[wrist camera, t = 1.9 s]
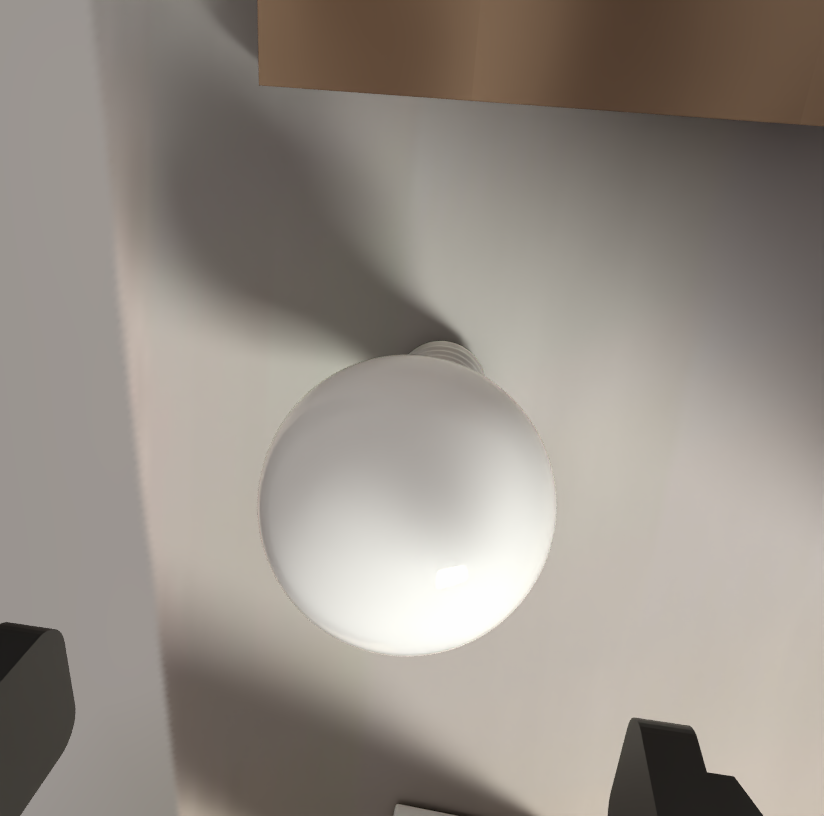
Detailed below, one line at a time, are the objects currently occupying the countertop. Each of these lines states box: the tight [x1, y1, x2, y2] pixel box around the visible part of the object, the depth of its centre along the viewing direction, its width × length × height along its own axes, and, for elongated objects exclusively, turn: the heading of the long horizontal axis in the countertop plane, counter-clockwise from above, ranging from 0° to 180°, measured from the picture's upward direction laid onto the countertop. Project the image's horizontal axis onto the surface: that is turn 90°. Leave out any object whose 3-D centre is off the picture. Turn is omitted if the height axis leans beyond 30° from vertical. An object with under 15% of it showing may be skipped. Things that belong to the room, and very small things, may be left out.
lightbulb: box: [257, 341, 557, 657], centre depth 18 cm, size 6×6×11 cm
